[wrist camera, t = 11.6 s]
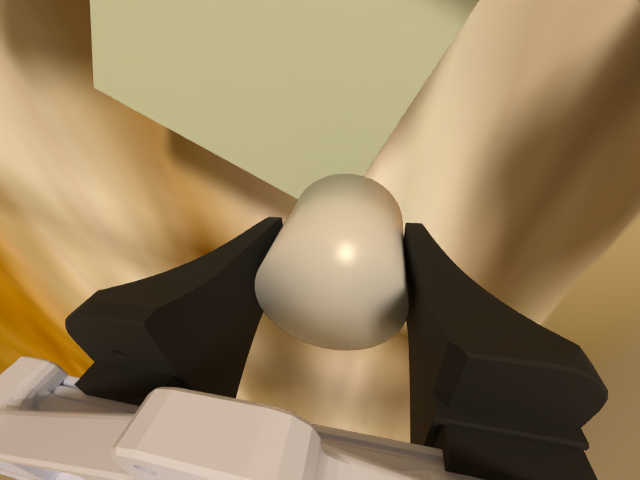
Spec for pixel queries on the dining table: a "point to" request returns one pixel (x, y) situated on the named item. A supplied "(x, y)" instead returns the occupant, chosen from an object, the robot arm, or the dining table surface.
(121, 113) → the dining table surface
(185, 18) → the lid
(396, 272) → the cream rounded piece
